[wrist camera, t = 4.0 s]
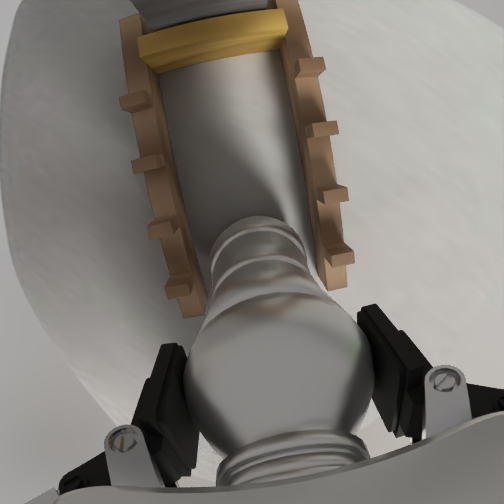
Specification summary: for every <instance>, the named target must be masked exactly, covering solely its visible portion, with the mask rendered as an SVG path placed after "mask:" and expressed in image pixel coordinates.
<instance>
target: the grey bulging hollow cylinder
mask: <svg viewBox="0 0 504 504" xmlns="http://www.w3.org/2000/svg"><path fill="white" fill-rule="evenodd" d="M209 273H210V279H211V283H212V286H213V297H212V300H211V304H210V308H209V311H208V314H207V316H206V318H205V321H204V323H203V325H202V327H201V329H200V331H199V333H198V335H197V337H196V339H195V341H194V343H193V345H192V348H191V350H190V353H189V356H188V359H187V362H186V365H185V370H184V375H183V386H184V394H185V398H186V402H187V406H188V410H189V413H190V415H191V418H192V420H193V422H194V423H195V425H196V426H197V428H198V429H199V431H200V432H201V433H202V435H203V436H204V438H205V439H206V440H207V442H208V443H209V444H210V446H211V447H212V448H213V449H214V450H215V451H216V452H217V453H218V454H219V455H220V456H221V457H222V458H223V459H224V460H223V461H222V462H221V463H220V464H219V467H218V469H217V475H216V486H231V485H242V484H251V483H260V482H267V481H274V480H281V479H287V478H293V477H298V476H303V475H308V474H313V473H318V472H322V471H327V470H331V469H335V468H339V467H343V466H346V465H350V464H354V463H357V462H361V461H364V460H367V459H371V458H370V455H369V452H368V449H367V446H366V445H365V443H364V442H363V440H362V439H360V438H359V437H357V436H356V434H357V432H358V430H359V428H360V426H361V424H362V422H363V419H364V417H365V415H366V413H367V409H368V406H369V403H370V400H371V397H372V394H373V390H374V384H375V372H374V363H373V356H372V349H371V345H370V343H369V341H368V339H367V336H366V334H365V333H364V332H363V331H362V330H361V328H360V327H359V326H358V325H357V323H356V322H355V321H354V320H353V319H352V317H351V316H350V315H349V314H348V313H347V312H346V311H345V310H344V309H343V308H342V307H341V306H340V305H339V304H337V303H336V302H335V301H334V300H333V299H332V298H331V297H330V296H329V295H328V294H326V293H325V292H324V291H323V290H322V289H321V288H320V286H319V285H318V284H317V282H316V281H315V280H314V279H313V277H312V276H311V274H310V272H309V269H308V266H307V256H306V252H305V249H304V245H303V242H302V241H301V239H300V237H299V235H298V234H297V233H296V232H295V231H294V230H293V228H291V227H290V226H289V225H287V224H286V223H284V222H282V221H280V220H278V219H275V218H271V217H267V216H251V217H246V218H243V219H240V220H238V221H236V222H235V223H233V224H231V225H230V226H229V227H228V228H227V229H225V230H224V231H223V232H222V233H221V234H220V236H219V237H218V238H217V240H216V241H215V243H214V245H213V247H212V249H211V253H210V257H209Z"/></svg>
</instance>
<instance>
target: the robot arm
mask: <svg viewBox="0 0 504 504" xmlns="http://www.w3.org/2000/svg"><path fill="white" fill-rule="evenodd" d="M357 325H358V326H359V327H360V328H361V330H362V331H363V332H364V333H365V334H366V336H367V339H368V341H369V343H370V345H371V349H372V356H373V363H374V372H375V384H374V390H373V394H372V399H373V401H374V403H375V405H376V408H377V410H378V412H379V414H380V416H381V418H382V420H383V422H384V424H385V426H386V428H387V430H388V432H392V431H393V433H394V435H395V437H396V438H398V437H401V436H403V435H405V436H406V437H410V445H408V446H406V447H403V448H400V449H397V450H395V451H392V452H389V453H386V454H383V455H380V456H377V457H374V458H371V459H367V460H364V461H361V462H357V463H354V464H350V465H346V466H343V467H339V468H335V469H331V470H327V471H322V472H318V473H313V474H308V475H303V476H298V477H293V478H287V479H281V480H274V481H267V482H260V483H251V484H242V485H231V486H216V487H190V488H188V487H187V488H186V487H185V488H180V487H179V485H178V482H177V480H179V479H180V478H181V476H191V469H195V467H196V461H197V451H198V441H199V429H198V428H197V426H196V425H195V423H194V422H193V420H192V418H191V415H190V413H189V410H188V406H187V402H186V398H185V394H184V386H183V375H184V370H185V365H186V362H187V357H186V354H185V351H184V349H183V347H182V346H178V344H177V343H168V344H162V345H161V347H160V350H159V353H158V356H157V359H156V362H155V365H154V368H153V371H152V374H151V376H150V378H148V379H146V381H145V384H144V386H143V389H142V392H141V395H140V398H139V401H138V404H137V407H136V410H135V413H134V416H133V419H132V422H131V425H121V426H118V427H116V428H114V429H113V430H111V431H110V432H109V433H108V435H107V436H106V438H105V441H104V448H105V451H104V452H102V453H101V454H99V455H98V456H96V457H94V458H92V459H91V460H89V461H87V462H86V463H84V464H82V465H81V466H79V467H77V468H75V469H74V470H72V471H70V472H68V473H67V474H66V475H64V476H63V478H62V479H61V480H60V483H59V489H57V490H56V489H55V488H52V489H50V490H48V491H47V492H45V493H43V494H41V495H40V496H38V497H36V498H34V499H32V500H31V501H29V502H27V503H25V504H504V389H497V388H491V387H485V386H479V385H474V384H468V383H466V379H465V377H464V374H463V373H462V372H461V371H460V370H459V369H458V368H456V367H453V366H450V365H441V366H437V367H434V368H433V367H432V365H431V364H430V363H429V362H428V360H427V359H426V358H425V357H424V355H423V354H422V353H421V352H420V350H419V349H418V348H417V347H416V345H415V344H414V343H413V342H412V340H411V339H410V338H409V337H408V336H407V334H406V333H405V332H404V331H403V330H399V331H398V330H397V329H396V327H395V326H394V325H393V324H392V322H391V321H390V320H389V319H388V317H387V316H386V315H385V314H384V313H383V311H382V310H381V309H380V308H379V307H378V305H377V304H372V305H368V306H364V307H362V308H361V311H359V312H357Z"/></svg>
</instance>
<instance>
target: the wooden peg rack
mask: <svg viewBox="0 0 504 504" xmlns="http://www.w3.org/2000/svg"><path fill="white" fill-rule="evenodd" d="M130 1H131V2H132V3H133V5H134V6H135V7H136V9H137V10H138V11H139V14H136V15H133V16H130V17H127V18H124V19H121V20H119V23H120V32H121V41H122V50H123V58H124V65H125V72H126V79H127V86H128V92H129V94H128V95H125V96H122V97H119V100H120V106H121V110H124V111H127V112H130V113H132V116H133V121H134V127H135V132H136V137H137V142H138V147H139V152H140V157H141V158H140V159H136V160H133V161H131V163H132V168H133V173H134V174H137V173H141V172H144V175H145V180H146V184H147V188H148V193H149V197H150V201H151V205H152V209H153V213H154V217H155V220H154V221H153V222H151V223H150V224H149V225H148V226H147V230H148V233H149V237H150V239H154V238H159V237H160V240H161V244H162V247H163V251H164V255H165V258H166V262H167V265H168V269H169V272H170V275H171V276H170V278H169V280H168V282H167V284H166V286H165V291H166V294H167V297H168V299H171V298H178V302H179V305H180V308H181V311H182V314H183V317H184V318H189V317H195V316H201V315H204V311H205V306H206V300H207V294H206V290H205V287H204V283H203V279H202V275H201V272H200V268H199V264H198V260H197V256H196V252H195V248H194V244H193V240H192V236H191V232H190V228H189V224H188V220H187V216H186V212H185V207H184V203H183V199H182V194H181V190H180V185H179V181H178V176H177V172H176V167H175V162H174V158H173V153H172V148H171V143H170V138H169V133H168V128H167V123H166V118H165V113H164V107H163V102H162V96H161V91H160V85H159V79H158V74H159V73H162V72H166V71H170V70H173V69H177V68H181V67H185V66H189V65H193V64H198V63H202V62H207V61H211V60H216V59H221V58H227V57H232V56H238V55H244V54H251V53H257V52H265V51H273V50H279V52H280V56H281V60H282V65H283V69H284V74H285V78H286V83H287V88H288V92H289V97H290V102H291V107H292V112H293V117H294V122H295V127H296V133H297V138H298V144H299V149H300V155H301V161H302V166H303V172H304V178H305V185H306V191H307V197H308V204H309V211H310V218H311V225H312V232H313V239H314V247H315V255H316V263H317V271H318V276H319V278H320V279H321V281H322V283H323V284H324V286H325V287H326V289H327V291H331V290H336V289H340V288H344V287H347V273H346V265H348V264H353V263H355V260H354V251H353V250H352V249H351V248H350V247H349V246H348V245H346V244H345V243H344V239H343V229H342V220H341V212H340V203H339V202H344V201H349V198H348V190H347V187H344V186H341V185H338V184H337V181H336V174H335V167H334V161H333V154H332V148H331V142H330V137H329V135H335V134H339V131H338V125H337V121H328V122H327V120H326V115H325V110H324V105H323V100H322V95H321V90H320V85H319V81H318V76H319V75H320V74H321V73H322V72H323V71H324V70H325V69H326V67H325V63H324V59H323V57H314V58H313V55H312V51H311V47H310V43H309V39H308V35H307V31H306V28H305V24H304V20H303V17H302V13H301V10H300V6H299V3H298V0H130ZM267 1H268V8H269V10H266V5H267ZM141 15H142V16H141ZM144 19H145V20H144ZM147 23H148V24H147ZM150 27H151V28H150ZM151 29H152V30H153V31H154V32H153V33H151Z"/></svg>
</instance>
